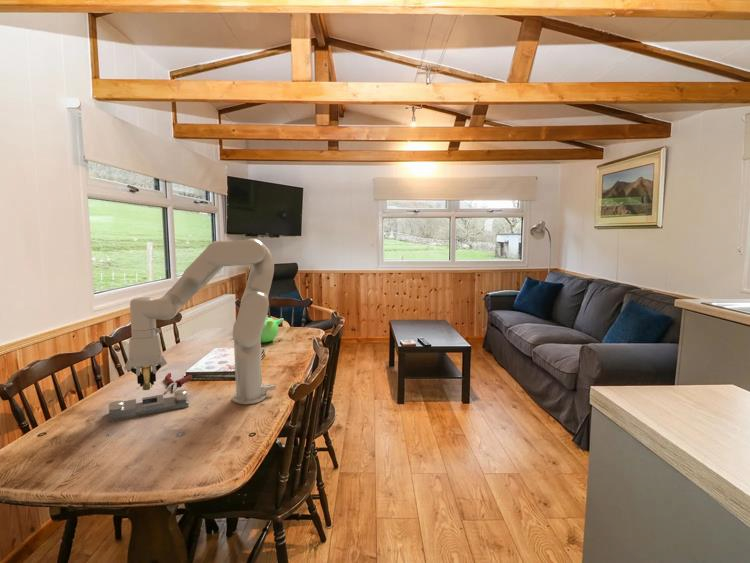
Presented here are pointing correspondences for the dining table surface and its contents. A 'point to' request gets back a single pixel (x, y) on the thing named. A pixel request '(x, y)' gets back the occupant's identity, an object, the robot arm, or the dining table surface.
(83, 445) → the dining table surface
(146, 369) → the brass pin
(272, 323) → the green teapot
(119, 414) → the grey notched rail
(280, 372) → the dining table surface
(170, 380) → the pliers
